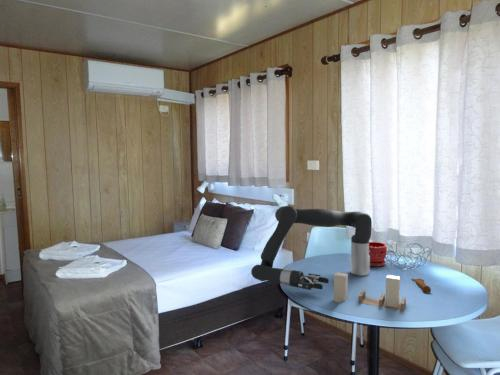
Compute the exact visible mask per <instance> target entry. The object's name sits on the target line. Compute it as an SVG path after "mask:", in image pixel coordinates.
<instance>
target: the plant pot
mask: <svg viewBox="0 0 500 375" xmlns="http://www.w3.org/2000/svg"><path fill="white" fill-rule="evenodd" d="M387 246H388V245H387V244H386V243H383V242H378V241H369V256H370V267H371V266H372V267H380V266H381V267H382V266H384V265H385V264H386V256H387Z"/></svg>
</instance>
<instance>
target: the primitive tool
mask: <svg viewBox="0 0 500 375" xmlns="http://www.w3.org/2000/svg"><path fill="white" fill-rule="evenodd" d="M411 281H413V282H414V281H415V282H416V283H415V282H414V283H415V284H416V285H417V286H418V287H419V288H421V289H422V292H423V293H424V292H429V293H430V292H431V291H432V289H431V287H430V286H429V285H426V283H425V280H424V279H423V278H411Z"/></svg>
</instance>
